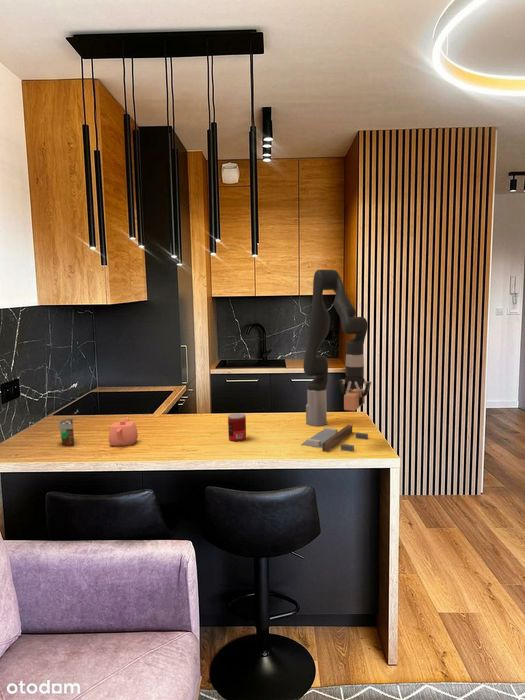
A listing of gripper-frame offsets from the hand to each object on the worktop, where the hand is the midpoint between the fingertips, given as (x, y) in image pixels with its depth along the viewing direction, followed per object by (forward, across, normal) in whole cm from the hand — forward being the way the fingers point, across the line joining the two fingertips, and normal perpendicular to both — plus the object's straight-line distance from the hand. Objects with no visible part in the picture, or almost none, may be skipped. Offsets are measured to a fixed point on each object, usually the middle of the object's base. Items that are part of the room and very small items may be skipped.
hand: (354, 404), depth 216 cm
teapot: (+18, +92, +42) cm, 103 cm away
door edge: (+17, +7, 0) cm, 19 cm away
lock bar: (+1, 0, 0) cm, 1 cm away
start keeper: (+17, 0, 0) cm, 17 cm away
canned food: (+18, +49, +16) cm, 54 cm away
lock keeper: (+17, +15, 0) cm, 23 cm away
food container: (+18, +115, +54) cm, 128 cm away
